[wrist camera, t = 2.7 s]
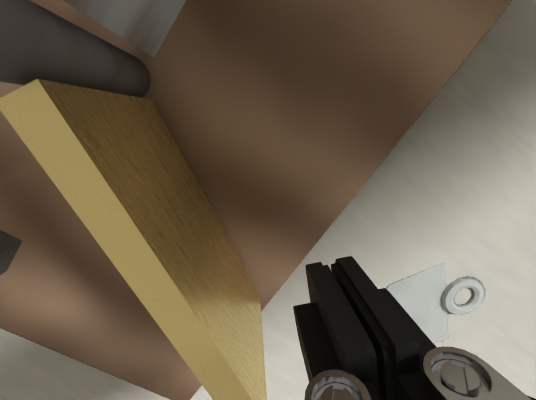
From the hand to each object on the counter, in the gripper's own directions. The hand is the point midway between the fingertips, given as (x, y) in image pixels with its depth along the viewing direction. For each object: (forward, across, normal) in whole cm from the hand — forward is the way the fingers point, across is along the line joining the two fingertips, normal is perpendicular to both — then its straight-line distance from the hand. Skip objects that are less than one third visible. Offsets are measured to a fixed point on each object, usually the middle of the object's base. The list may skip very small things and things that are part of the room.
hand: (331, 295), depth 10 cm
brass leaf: (+4, +5, -3) cm, 7 cm away
